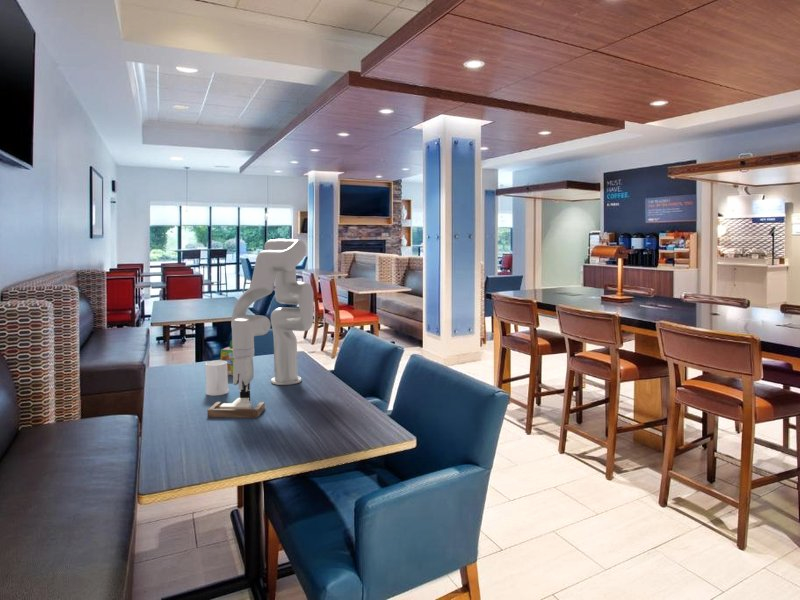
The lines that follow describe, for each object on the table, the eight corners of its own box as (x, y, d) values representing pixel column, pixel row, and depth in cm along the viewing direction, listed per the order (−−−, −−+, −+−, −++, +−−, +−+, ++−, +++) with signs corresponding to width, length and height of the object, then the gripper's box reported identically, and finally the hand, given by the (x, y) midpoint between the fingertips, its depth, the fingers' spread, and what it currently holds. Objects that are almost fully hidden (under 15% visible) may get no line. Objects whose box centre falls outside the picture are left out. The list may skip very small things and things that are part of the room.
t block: (230, 405, 190) (229, 397, 189) (257, 406, 189) (257, 398, 189) (219, 414, 180) (219, 406, 179) (248, 415, 179) (248, 406, 179)
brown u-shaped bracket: (217, 408, 186) (216, 401, 186) (264, 408, 186) (264, 402, 186) (207, 417, 177) (207, 410, 177) (257, 417, 177) (257, 410, 177)
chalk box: (220, 375, 231) (219, 342, 230) (230, 370, 240) (229, 338, 239) (240, 376, 230) (238, 343, 228) (249, 371, 239) (248, 339, 237)
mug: (227, 397, 200) (226, 366, 198) (203, 398, 198) (202, 367, 196) (229, 388, 211) (228, 359, 210) (207, 390, 209) (205, 360, 208)
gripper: (239, 348, 197) (241, 395, 199) (226, 357, 182) (228, 408, 184) (259, 348, 196) (261, 395, 199) (247, 357, 182) (249, 408, 184)
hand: (245, 401), depth 191 cm, fingers closed
